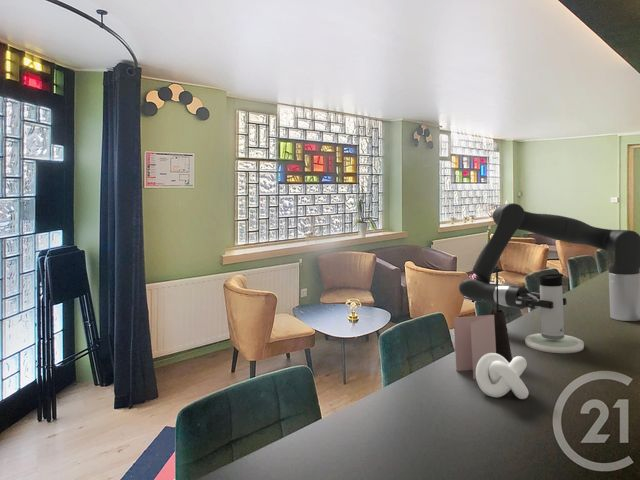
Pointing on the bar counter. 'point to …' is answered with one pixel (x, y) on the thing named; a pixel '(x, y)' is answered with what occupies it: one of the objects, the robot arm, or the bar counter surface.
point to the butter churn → (501, 329)
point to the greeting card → (473, 340)
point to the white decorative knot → (501, 375)
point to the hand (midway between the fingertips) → (559, 303)
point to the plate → (554, 344)
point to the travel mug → (553, 317)
